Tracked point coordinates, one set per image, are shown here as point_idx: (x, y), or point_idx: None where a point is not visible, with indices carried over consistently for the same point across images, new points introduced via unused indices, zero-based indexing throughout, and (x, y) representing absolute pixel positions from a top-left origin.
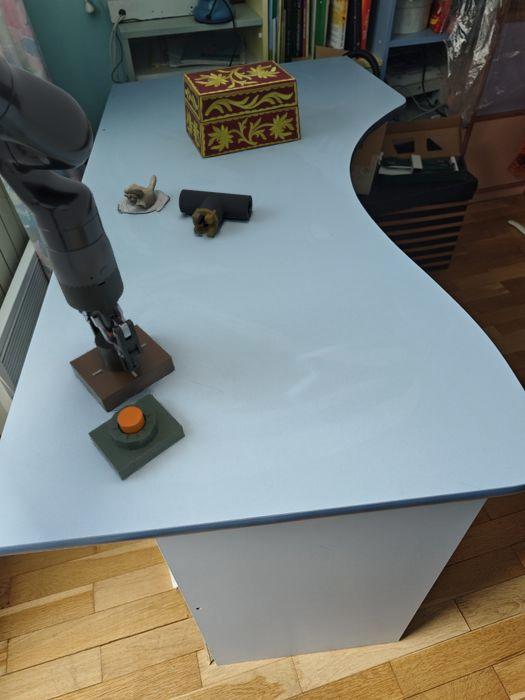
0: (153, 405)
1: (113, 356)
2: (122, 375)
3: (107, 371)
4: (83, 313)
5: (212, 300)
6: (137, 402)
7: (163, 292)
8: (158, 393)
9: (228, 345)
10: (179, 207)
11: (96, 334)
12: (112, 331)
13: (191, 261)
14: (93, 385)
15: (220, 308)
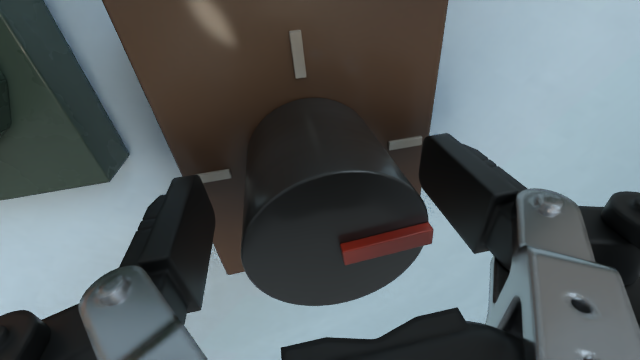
0: (35, 173)
1: (250, 188)
2: (224, 138)
3: (279, 96)
4: (615, 321)
5: (373, 324)
6: (71, 130)
7: (467, 271)
8: (163, 177)
9: (242, 321)
10: None
11: (450, 162)
12: (372, 259)
13: (485, 318)
14: (229, 2)
15: (344, 328)
